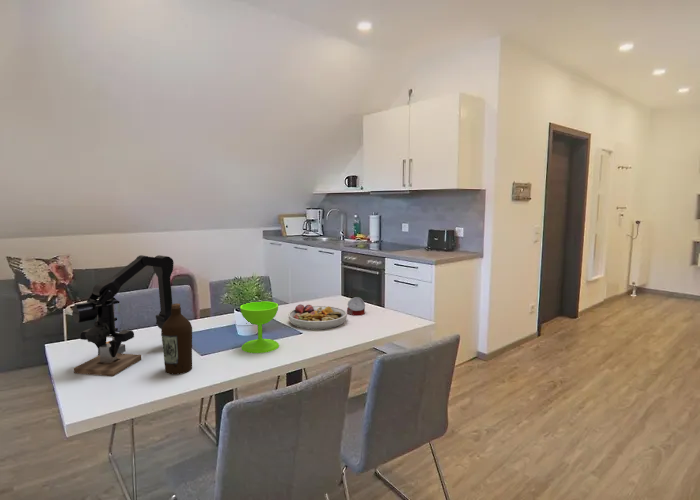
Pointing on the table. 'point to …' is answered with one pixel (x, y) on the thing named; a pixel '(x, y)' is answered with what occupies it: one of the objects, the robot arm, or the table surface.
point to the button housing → (120, 350)
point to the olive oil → (177, 342)
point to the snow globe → (356, 307)
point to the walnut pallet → (107, 365)
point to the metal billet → (106, 353)
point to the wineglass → (259, 325)
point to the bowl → (317, 317)
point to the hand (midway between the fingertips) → (108, 356)
